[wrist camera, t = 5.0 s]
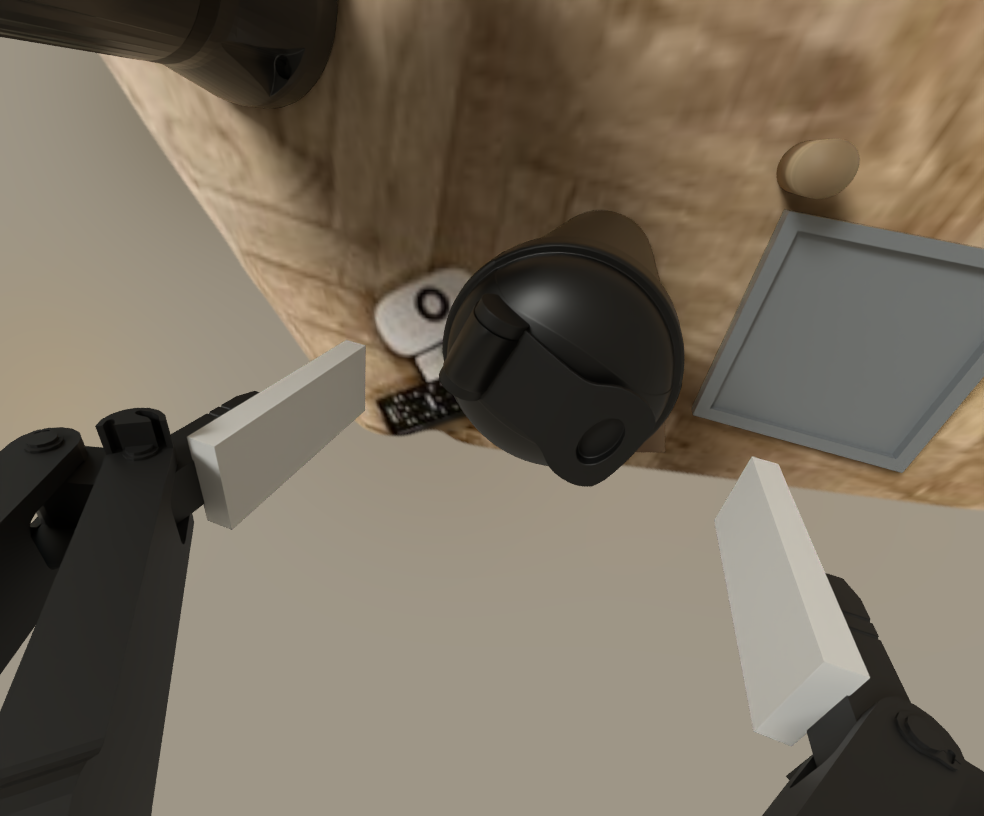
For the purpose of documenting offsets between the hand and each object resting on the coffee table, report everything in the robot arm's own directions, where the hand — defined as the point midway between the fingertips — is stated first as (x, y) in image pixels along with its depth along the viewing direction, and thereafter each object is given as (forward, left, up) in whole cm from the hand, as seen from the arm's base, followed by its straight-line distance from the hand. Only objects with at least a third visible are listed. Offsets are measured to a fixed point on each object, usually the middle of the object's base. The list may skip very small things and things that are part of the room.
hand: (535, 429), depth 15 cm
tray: (+19, -1, -24) cm, 31 cm away
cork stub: (+11, +9, -24) cm, 28 cm away
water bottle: (0, 0, -25) cm, 25 cm away
